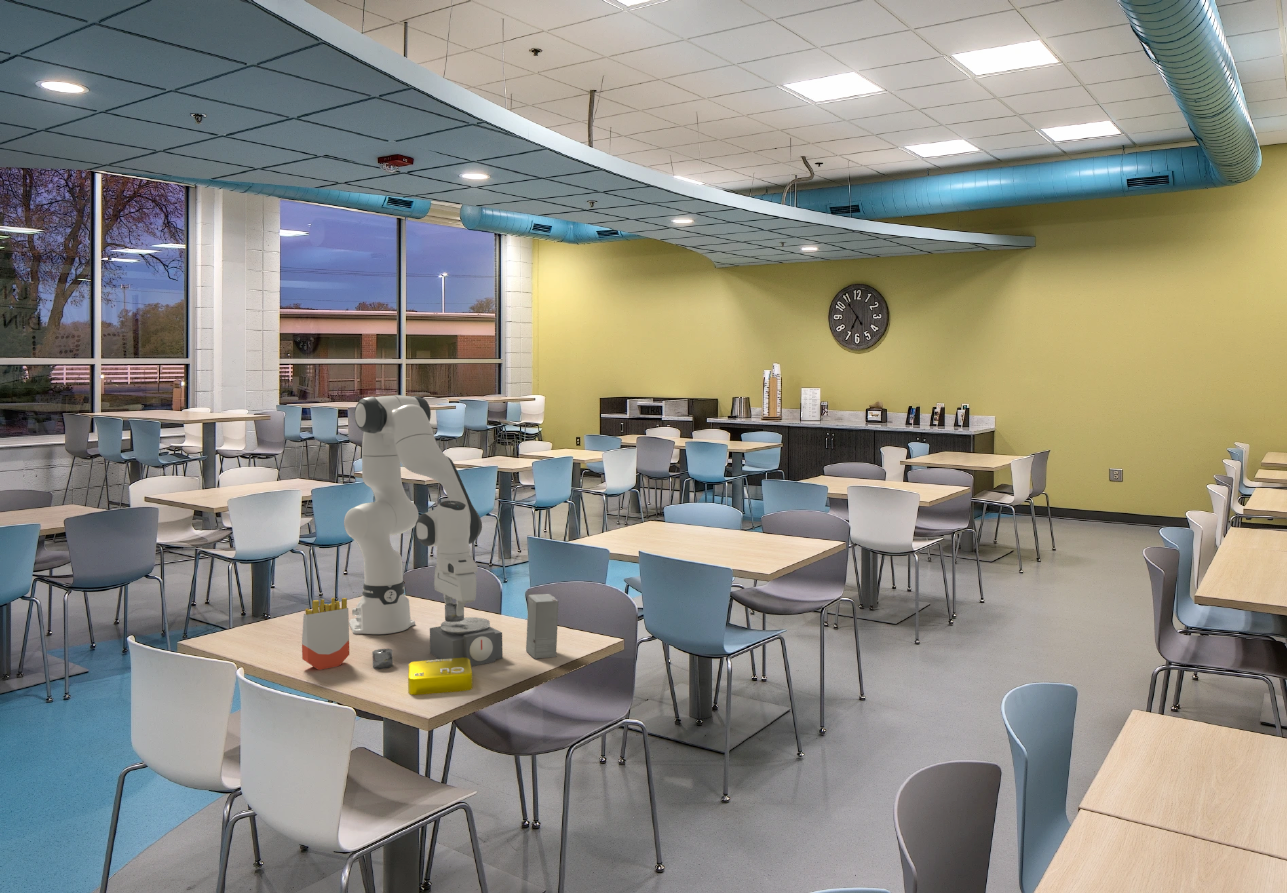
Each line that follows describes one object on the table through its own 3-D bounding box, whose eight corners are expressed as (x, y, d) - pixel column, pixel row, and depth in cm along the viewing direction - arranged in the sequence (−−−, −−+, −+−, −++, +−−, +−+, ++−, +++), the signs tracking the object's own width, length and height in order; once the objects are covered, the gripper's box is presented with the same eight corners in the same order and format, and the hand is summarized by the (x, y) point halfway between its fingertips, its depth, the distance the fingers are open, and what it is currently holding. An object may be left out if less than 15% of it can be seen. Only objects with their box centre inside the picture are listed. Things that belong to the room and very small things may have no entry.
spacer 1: (370, 665, 233) (369, 650, 233) (388, 662, 236) (388, 647, 236) (376, 670, 229) (376, 654, 229) (395, 667, 232) (395, 651, 232)
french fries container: (302, 668, 231) (300, 599, 230) (343, 660, 238) (341, 593, 237) (308, 672, 228) (306, 602, 227) (349, 663, 235) (348, 596, 234)
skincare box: (525, 651, 245) (524, 594, 244) (550, 648, 248) (549, 592, 247) (534, 660, 237) (533, 601, 236) (559, 656, 240) (559, 598, 239)
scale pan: (433, 626, 242) (433, 621, 242) (477, 619, 250) (477, 615, 250) (452, 636, 232) (452, 632, 232) (497, 628, 239) (497, 624, 239)
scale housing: (430, 653, 244) (429, 624, 243) (477, 644, 252) (477, 616, 251) (456, 669, 229) (456, 638, 228) (506, 660, 237) (505, 630, 236)
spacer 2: (442, 619, 240) (441, 604, 239) (459, 616, 243) (459, 601, 242) (449, 622, 236) (449, 607, 235) (467, 620, 238) (466, 605, 238)
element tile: (469, 673, 227) (469, 654, 227) (473, 692, 213) (472, 672, 212) (409, 678, 224) (408, 659, 223) (408, 697, 209) (407, 677, 209)
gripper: (428, 557, 245) (428, 607, 246) (457, 569, 228) (458, 622, 229) (449, 555, 249) (450, 604, 249) (480, 566, 232) (481, 619, 232)
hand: (454, 613), depth 239 cm, fingers closed on spacer 2, 5 cm apart
